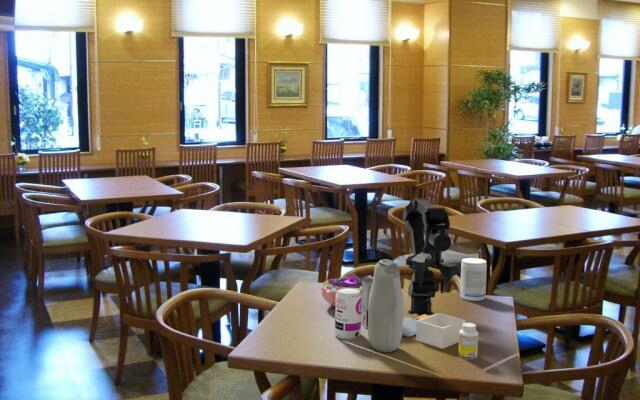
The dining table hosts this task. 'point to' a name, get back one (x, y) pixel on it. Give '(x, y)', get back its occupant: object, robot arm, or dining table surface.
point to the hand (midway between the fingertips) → (431, 289)
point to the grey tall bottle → (385, 307)
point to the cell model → (339, 287)
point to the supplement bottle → (468, 341)
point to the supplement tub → (473, 279)
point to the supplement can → (348, 313)
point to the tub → (439, 330)
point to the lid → (410, 325)
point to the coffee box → (365, 299)
